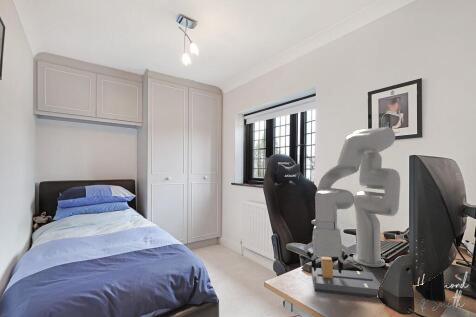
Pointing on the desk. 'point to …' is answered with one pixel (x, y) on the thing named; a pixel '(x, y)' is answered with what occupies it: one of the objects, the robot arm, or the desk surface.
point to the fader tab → (327, 267)
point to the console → (346, 283)
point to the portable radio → (433, 288)
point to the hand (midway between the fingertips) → (326, 270)
